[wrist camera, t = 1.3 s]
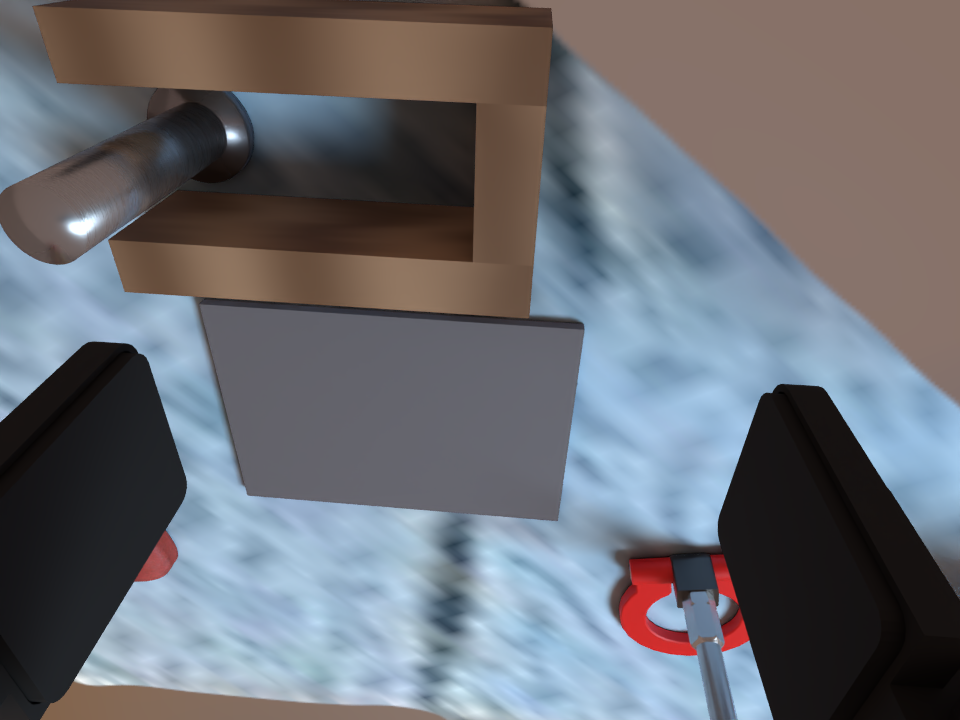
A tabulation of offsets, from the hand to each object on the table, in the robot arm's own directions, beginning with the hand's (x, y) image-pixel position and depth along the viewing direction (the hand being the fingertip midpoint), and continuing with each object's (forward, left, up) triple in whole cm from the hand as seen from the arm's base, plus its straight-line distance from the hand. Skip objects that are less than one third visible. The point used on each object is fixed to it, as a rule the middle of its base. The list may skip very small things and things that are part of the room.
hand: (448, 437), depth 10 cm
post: (+11, 0, -17) cm, 20 cm away
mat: (+5, +14, -17) cm, 22 cm away
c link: (+6, 0, -17) cm, 18 cm away
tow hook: (-12, +26, -17) cm, 33 cm away
